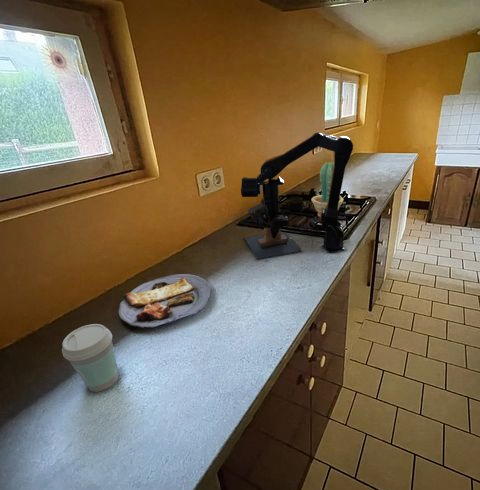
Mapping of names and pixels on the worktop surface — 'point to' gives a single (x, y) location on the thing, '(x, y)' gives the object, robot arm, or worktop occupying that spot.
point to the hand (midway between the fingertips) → (272, 236)
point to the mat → (271, 251)
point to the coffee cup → (92, 356)
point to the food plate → (164, 300)
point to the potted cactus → (325, 188)
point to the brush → (272, 239)
